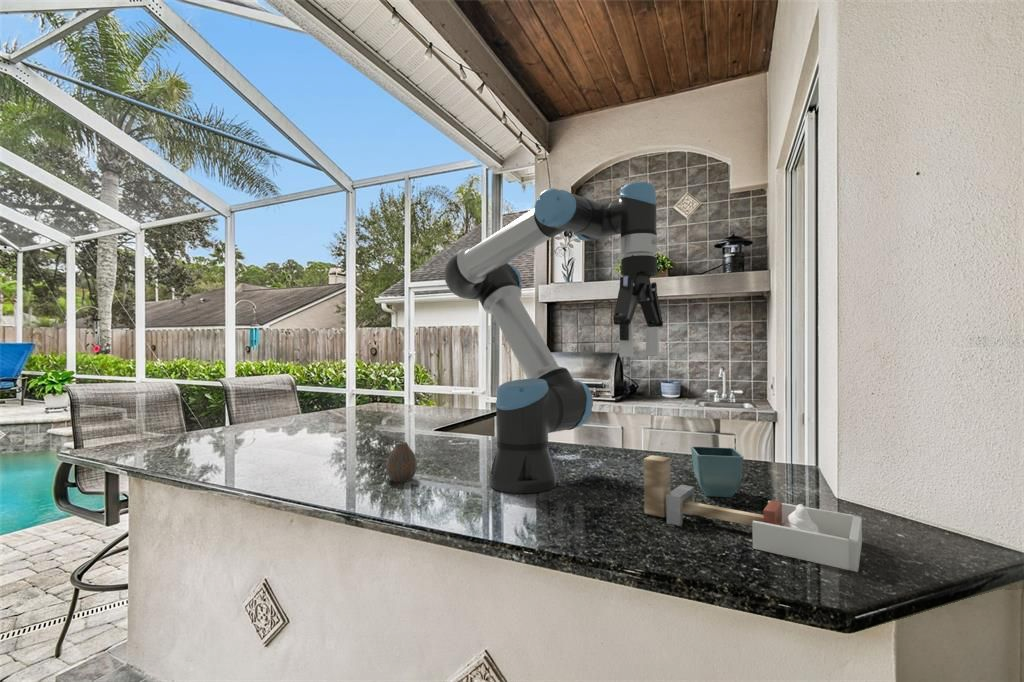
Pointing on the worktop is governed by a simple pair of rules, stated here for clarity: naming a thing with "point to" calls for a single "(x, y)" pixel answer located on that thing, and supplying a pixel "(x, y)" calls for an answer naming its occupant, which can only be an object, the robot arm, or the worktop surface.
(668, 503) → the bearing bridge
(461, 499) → the worktop surface
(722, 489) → the flower pot
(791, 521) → the whipped cream swirl
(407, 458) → the brown egg shape
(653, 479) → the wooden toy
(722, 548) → the worktop surface
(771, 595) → the worktop surface
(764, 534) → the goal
